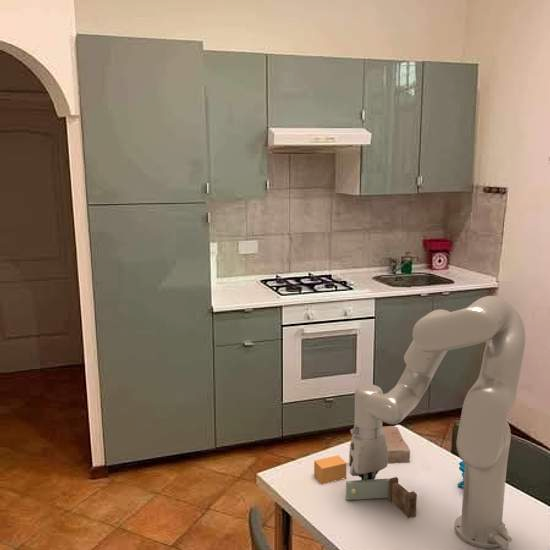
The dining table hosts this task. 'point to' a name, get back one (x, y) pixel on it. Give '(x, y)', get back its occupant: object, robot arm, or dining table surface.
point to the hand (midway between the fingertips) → (367, 490)
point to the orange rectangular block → (330, 469)
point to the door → (367, 489)
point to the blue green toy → (462, 468)
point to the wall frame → (402, 498)
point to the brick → (396, 445)
